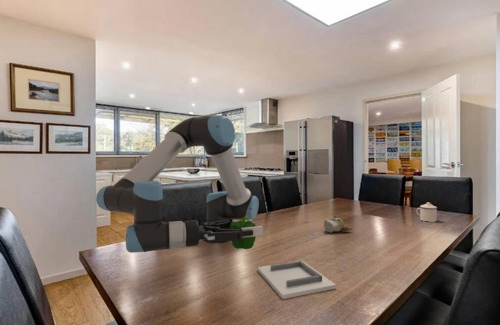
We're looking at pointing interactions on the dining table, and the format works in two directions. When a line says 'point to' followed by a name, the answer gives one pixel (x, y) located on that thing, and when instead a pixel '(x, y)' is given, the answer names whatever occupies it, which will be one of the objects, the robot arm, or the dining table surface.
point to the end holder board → (295, 279)
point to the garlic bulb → (335, 225)
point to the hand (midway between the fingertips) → (256, 227)
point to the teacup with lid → (428, 212)
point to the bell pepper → (247, 241)
